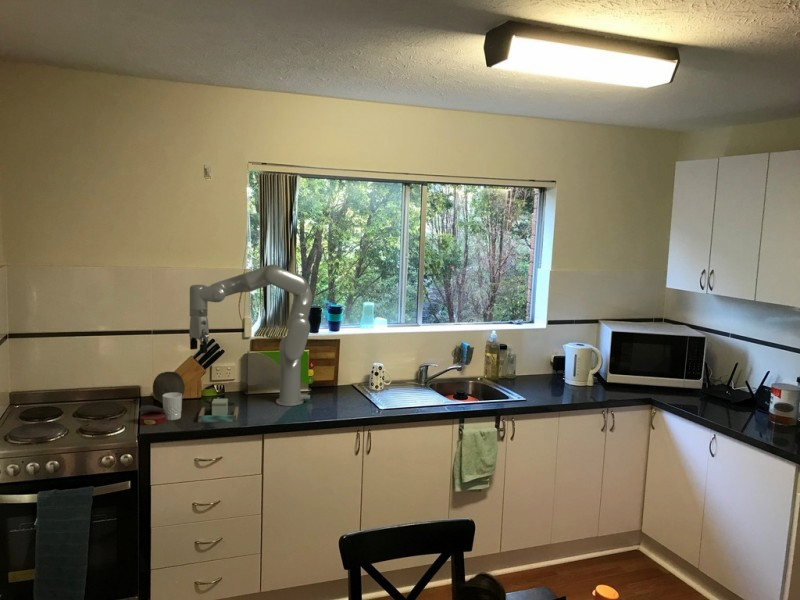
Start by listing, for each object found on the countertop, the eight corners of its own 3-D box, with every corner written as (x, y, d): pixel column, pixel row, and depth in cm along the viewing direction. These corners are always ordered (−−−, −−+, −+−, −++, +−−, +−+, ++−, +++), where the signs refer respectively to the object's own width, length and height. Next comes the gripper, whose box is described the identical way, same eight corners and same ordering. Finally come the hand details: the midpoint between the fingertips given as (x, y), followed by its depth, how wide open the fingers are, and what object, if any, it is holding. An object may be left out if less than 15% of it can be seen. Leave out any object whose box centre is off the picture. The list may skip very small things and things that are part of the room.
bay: (238, 412, 283) (238, 406, 282) (236, 421, 270) (236, 415, 270) (202, 413, 280) (202, 407, 280) (197, 422, 267) (197, 416, 267)
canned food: (139, 434, 265) (129, 412, 265) (160, 425, 273) (150, 404, 273) (154, 427, 258) (144, 404, 259) (174, 418, 267) (164, 396, 267)
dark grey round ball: (192, 402, 295) (191, 370, 293) (169, 410, 282) (168, 377, 280) (168, 398, 300) (168, 367, 299) (145, 406, 288) (144, 373, 286)
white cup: (163, 421, 267) (162, 398, 266) (162, 416, 274) (161, 393, 273) (183, 419, 270) (182, 396, 269) (181, 414, 278) (181, 391, 276)
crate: (228, 411, 284) (228, 398, 283) (226, 416, 277) (226, 402, 277) (213, 411, 283) (213, 398, 282) (211, 416, 276) (211, 402, 276)
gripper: (215, 315, 279) (215, 353, 281) (198, 309, 292) (198, 346, 294) (199, 316, 274) (199, 355, 276) (182, 310, 287) (182, 348, 289)
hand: (198, 351), depth 285 cm, fingers open, 9 cm apart
